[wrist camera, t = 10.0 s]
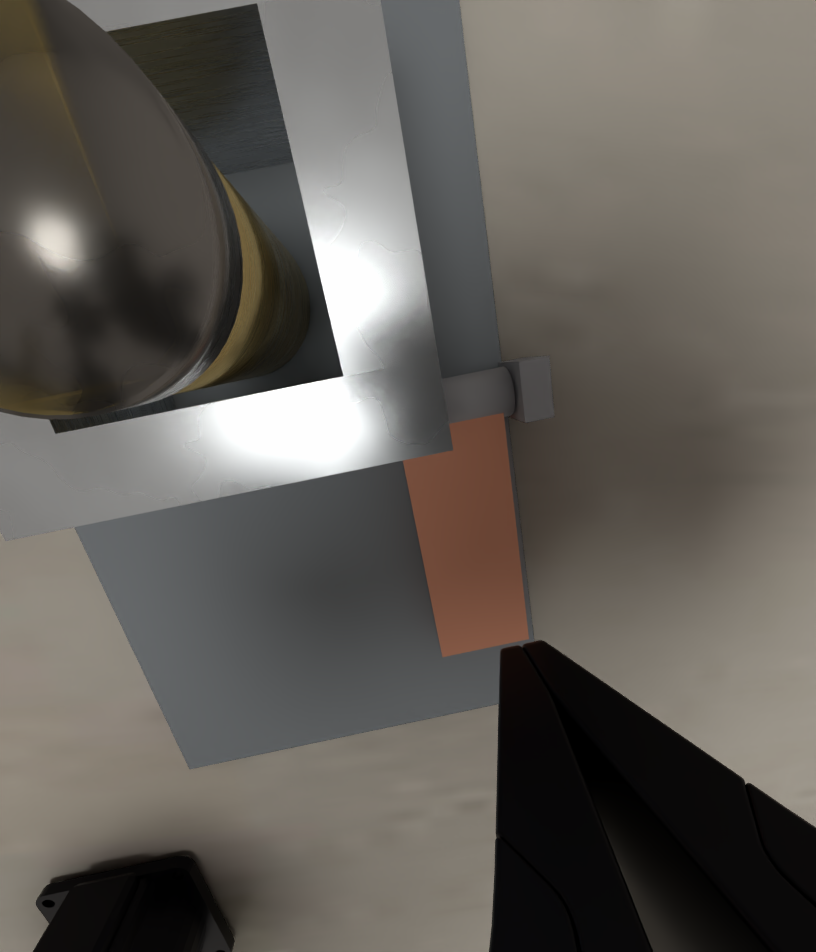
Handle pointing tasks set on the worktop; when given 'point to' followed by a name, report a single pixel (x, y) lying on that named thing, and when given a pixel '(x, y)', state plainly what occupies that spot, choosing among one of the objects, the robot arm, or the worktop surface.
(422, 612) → the slate mat
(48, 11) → the brass cylinder
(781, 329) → the worktop surface
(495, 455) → the lever
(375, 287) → the block
